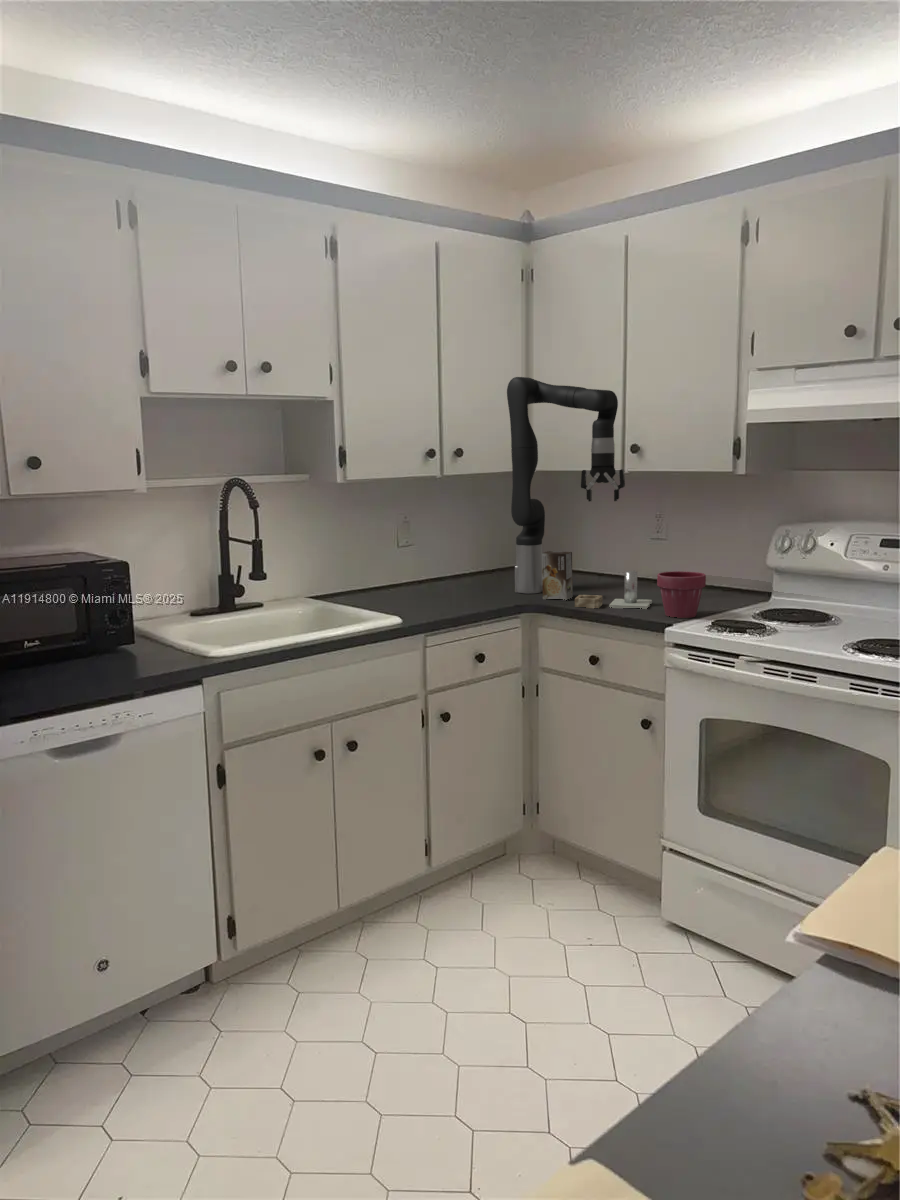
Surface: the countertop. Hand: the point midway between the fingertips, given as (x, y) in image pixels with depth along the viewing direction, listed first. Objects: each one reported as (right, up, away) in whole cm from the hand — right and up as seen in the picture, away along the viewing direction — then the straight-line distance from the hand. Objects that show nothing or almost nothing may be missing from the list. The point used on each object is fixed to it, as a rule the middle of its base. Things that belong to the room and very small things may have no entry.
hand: (602, 501), depth 295 cm
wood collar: (-6, -35, -7) cm, 36 cm away
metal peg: (+8, -34, -7) cm, 35 cm away
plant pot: (+19, -38, -26) cm, 50 cm away
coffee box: (-14, -33, +9) cm, 37 cm away
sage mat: (+8, -35, -7) cm, 36 cm away
